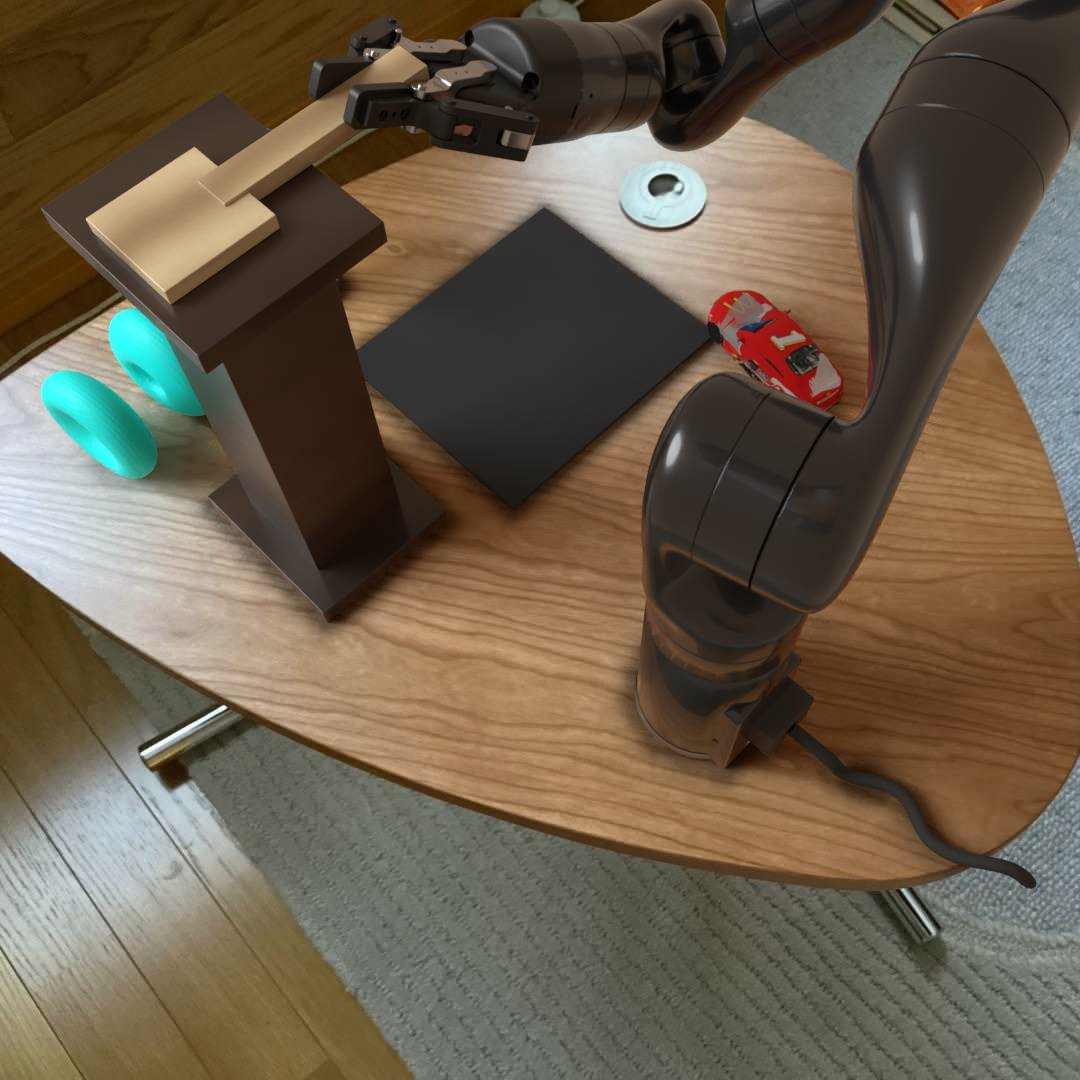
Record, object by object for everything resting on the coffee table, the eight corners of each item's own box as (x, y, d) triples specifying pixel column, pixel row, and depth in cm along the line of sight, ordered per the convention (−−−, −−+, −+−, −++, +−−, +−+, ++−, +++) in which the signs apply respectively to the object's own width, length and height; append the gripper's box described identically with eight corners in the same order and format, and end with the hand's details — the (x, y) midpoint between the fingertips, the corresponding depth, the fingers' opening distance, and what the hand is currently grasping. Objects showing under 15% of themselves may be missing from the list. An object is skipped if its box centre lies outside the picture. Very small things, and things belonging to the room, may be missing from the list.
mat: (715, 336, 96) (715, 332, 95) (513, 511, 89) (513, 508, 88) (544, 210, 103) (544, 206, 102) (345, 363, 96) (344, 359, 95)
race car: (692, 322, 96) (699, 289, 92) (744, 294, 97) (753, 261, 94) (795, 434, 91) (806, 405, 87) (848, 403, 92) (861, 373, 89)
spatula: (458, 103, 64) (456, 85, 63) (171, 305, 58) (163, 289, 57) (375, 43, 66) (372, 25, 65) (92, 231, 61) (83, 215, 59)
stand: (448, 520, 88) (383, 221, 60) (327, 623, 85) (197, 356, 56) (331, 413, 93) (220, 91, 65) (212, 506, 90) (39, 207, 61)
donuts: (66, 443, 93) (11, 369, 84) (154, 359, 97) (110, 279, 88) (155, 505, 90) (107, 434, 81) (242, 416, 94) (206, 339, 85)
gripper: (482, -27, 74) (264, -37, 62) (642, 77, 69) (439, 89, 57) (449, 86, 79) (240, 98, 66) (597, 191, 74) (400, 225, 61)
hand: (333, 94), depth 62 cm, fingers closed on spatula, 2 cm apart
